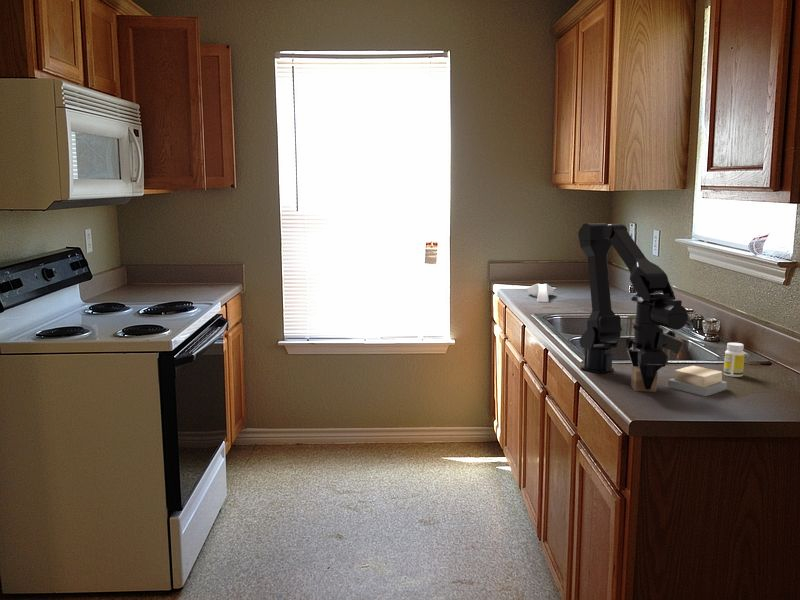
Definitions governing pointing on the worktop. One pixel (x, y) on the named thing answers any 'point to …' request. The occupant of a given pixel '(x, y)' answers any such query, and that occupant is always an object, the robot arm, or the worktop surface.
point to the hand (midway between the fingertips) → (643, 384)
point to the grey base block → (697, 387)
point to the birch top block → (698, 376)
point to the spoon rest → (540, 291)
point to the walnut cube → (641, 380)
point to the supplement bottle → (734, 360)
